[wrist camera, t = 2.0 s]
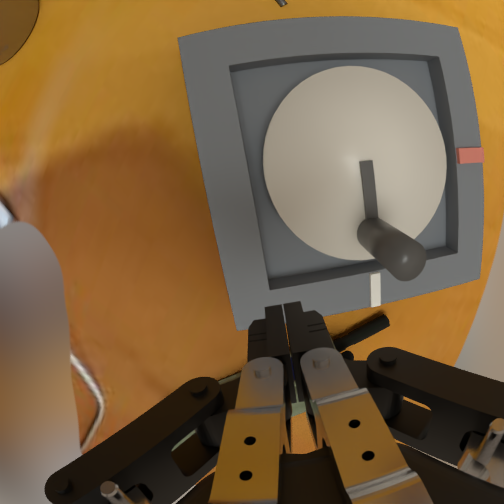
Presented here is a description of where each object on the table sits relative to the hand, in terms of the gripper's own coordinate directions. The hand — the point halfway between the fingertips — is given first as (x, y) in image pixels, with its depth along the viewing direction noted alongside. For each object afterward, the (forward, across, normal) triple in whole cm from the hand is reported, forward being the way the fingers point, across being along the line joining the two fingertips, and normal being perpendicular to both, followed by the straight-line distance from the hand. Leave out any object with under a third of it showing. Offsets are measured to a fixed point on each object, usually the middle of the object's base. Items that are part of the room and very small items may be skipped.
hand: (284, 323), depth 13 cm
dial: (+11, -7, -5) cm, 14 cm away
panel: (+14, -7, -5) cm, 16 cm away
